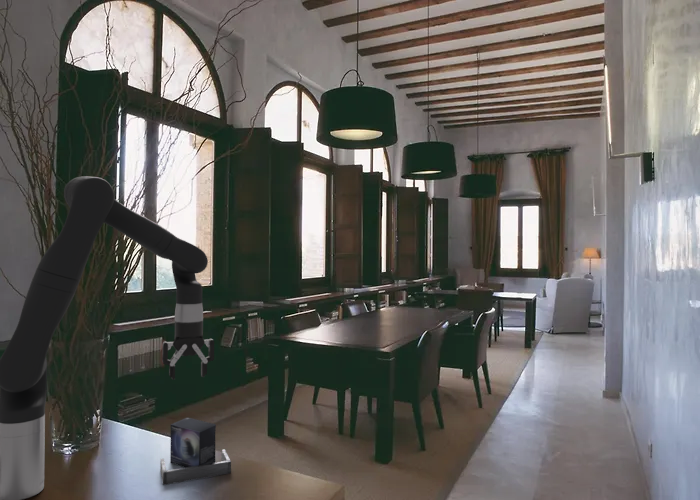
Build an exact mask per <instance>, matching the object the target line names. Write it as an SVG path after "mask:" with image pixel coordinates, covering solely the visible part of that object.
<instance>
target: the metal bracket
mask: <svg viewBox="0 0 700 500" xmlns="http://www.w3.org/2000/svg"><path fill="white" fill-rule="evenodd" d="M220 460H221V461H215V463H209V464H203V465H197V466H191V467H181V468H174V469H169V470H167V467H166V466H167V465H166V462H165V458H160V466H159V467H160V469H159V470H160V476H161V481H162V482H161V483H162V485H163V486H166V485H172V484H178V483H182V482H184V483H185V482H188V481H194V480H200V479H205V478H206V479H207V478H212V477H219V476H223V475H228V474H231V473H232V461H231V458H230V457H229V455H228V453H227V450H226V449H225V448H224V449H221V459H220Z"/></svg>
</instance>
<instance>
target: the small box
mask: <svg viewBox="0 0 700 500" xmlns="http://www.w3.org/2000/svg"><path fill="white" fill-rule="evenodd" d="M216 427H217V424H216V423H213V422H208V421H203V420H200V419H196V418H192V417H184V418H183V419H180V420H178V421H175V422H173V423H171V424H170V455H169V456H170V457H169V458H170V459H169V460H170V461H169V462H170V464H172V465H176V466H179V467H181V468H185V467H191V466H197V465H203V464H209V463H216Z"/></svg>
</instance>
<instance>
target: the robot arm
mask: <svg viewBox="0 0 700 500" xmlns="http://www.w3.org/2000/svg"><path fill="white" fill-rule="evenodd" d="M63 197H64V201H65V202H66V204H67V205H68V207H69V211H68V213H67V216H66V219H65V223H64V225H63V227H62V229H61V231H60V232H59V234H58V235H57V237H56V238H55V239H54V241H53V242H52V243H51V245H50V246H49V247H48V248H47V250H46V251H45V252H44V254H43V255H42V257H41V259H40V261H39V262H38V265H37V268H36V269H35V272H34V274H33V277H32V280H31V283H30V285H29V288H28V290H27V294H26V296H25V300H24V303H23V305H22V309H21V313H20V317H19V321H18V324H17V326H16V328H15V330H14V332H13V334H12V336H11V339H10V340H9V342H8V344H7V345H6V348H5V350H4V352H3V353H2V355H1V356H0V500H25V499H26V500H27V499H29V498H32V497H34V496H36V495H37V494H39V493H40V492H42V491H43V489H44V488H45V450H46V449H45V447H46V446H45V440H46V439H45V437H46V435H45V434H46V432H45V431H46V430H45V429H46V427H45V426H46V401H47V390H48V389H47V387H48V382H47V381H48V360H47V354H48V351H49V347H50V344H51V341H52V338H53V337H54V334H55V331H56V329H57V328H58V326H59V324H60V322H61V321H62V319H63V317H64V316H65V314H66V312H67V311H68V308H69V306H70V305H71V303H72V301H73V298H74V296H75V294H76V292H77V289H78V287H79V285H80V281H81V279H82V277H83V273H84V270H85V267H86V266H87V263H88V260H89V258H90V255H91V252H92V249H93V246H94V243H95V241H96V238H97V236H98V234H99V231H100V230H101V228H102V226H103V225H104V224H106V225H107V226H109V227H112V228H113V229H115V230H116V231H118V232H120V233H122V234H123V235H125V236H126V237H128V238H129V239H130V240H132V241H134V242H135V243H137V244H138V245H140V246H141V247H142V248H145V249H146V250H147V251H149V252H150V253H152V254H154V255H155V256H157V257H160V258H162V259H165V260H169V261H171V268H172V275H173V279H174V284H175V289H176V292H175V294H176V295H175V303H176V304H175V311H174V338H173V341H166V340H165V341H162V348H161V349H162V350H161V351H162V352H161V354H162V355H161V357H162V358H161V361H162V364H164V365H167V366H168V376H169V378H170V379H171V380H176V365H175V364H176V363H177V362H178V360H179V359H180V358H181V356H182V357H187V356H192V357H193V356H196V355H198V358H199V359H200V360H201V362H200V377H201V378H205V376H206V375H207V373H208V363H210V362H213V361H214V360H215V340H214V339H213V338H209V339H204V334H203V333H204V309H203V308H204V306H203V286H202V283H200V282H199V281H197V278H196V277H197V276H196V274H199V273H202V272H203V271H205V270H206V269H207V267H208V263H209V262H208V257H207V255H206V253H205V252H204V251H203V250H202V248H199V246H196V245H194V244H193V243H190V242H188V241H186V240H184V239H182V238H179V237H178V236H176V235H174V234H173V233H172V232H170V231H169V230H168V229H166V228H164V227H163V226H161V225H160V224H158V223H156V222H155V221H153V220H151V219H149V218H147V217H146V216H144V215H141V214H140V213H138V212H135V211H133V210H132V209H130V208H129V207H127V206H125V205H123V204H122V203H121V202H120V201H118V200H117V199H115V192H114V188H113V187H112V186H111V184H110V183H109V182H108V181H107V180H106V179H103V178H102V177H97V176H87V175H86V176H85V175H84V176H76V177H74V178H72V179H71V180H69V181H68V182H67V183H66V184H65V186H64V189H63ZM204 345H206V347H207V348H208V354H207V355H208V356H206V357H205V354H204V353H203V352H202V350H201V349H202V348H203V346H204ZM172 347H173V348H174V349H175V352H174V353H173V355H172V357H171V358H170V359H168V358H169V356H168V355H169V352H168V351H169V350H171V348H172Z"/></svg>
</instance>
